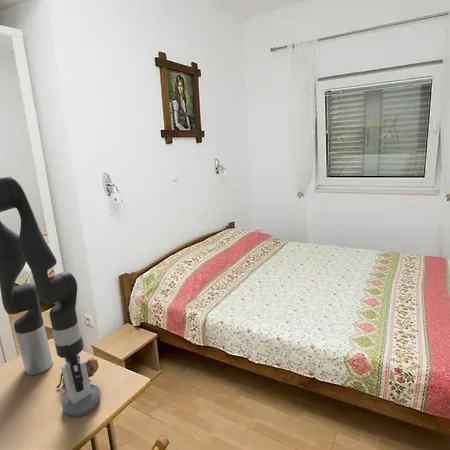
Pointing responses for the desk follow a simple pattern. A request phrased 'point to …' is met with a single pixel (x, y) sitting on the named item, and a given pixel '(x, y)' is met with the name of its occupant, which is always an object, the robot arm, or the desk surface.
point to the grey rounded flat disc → (81, 404)
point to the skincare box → (70, 385)
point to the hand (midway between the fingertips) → (77, 383)
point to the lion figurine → (91, 369)
